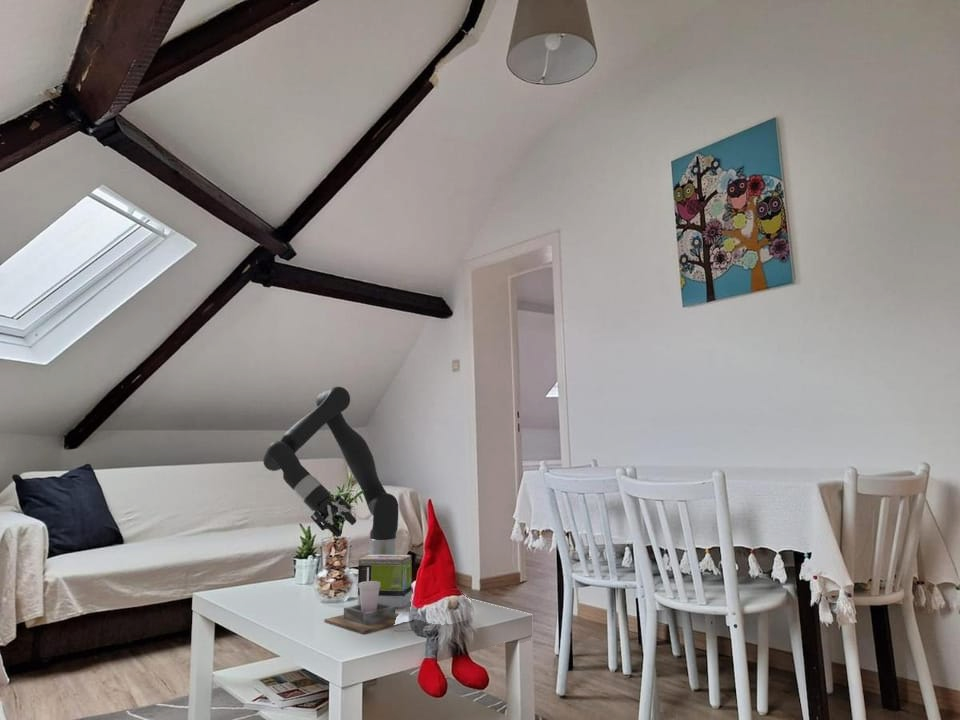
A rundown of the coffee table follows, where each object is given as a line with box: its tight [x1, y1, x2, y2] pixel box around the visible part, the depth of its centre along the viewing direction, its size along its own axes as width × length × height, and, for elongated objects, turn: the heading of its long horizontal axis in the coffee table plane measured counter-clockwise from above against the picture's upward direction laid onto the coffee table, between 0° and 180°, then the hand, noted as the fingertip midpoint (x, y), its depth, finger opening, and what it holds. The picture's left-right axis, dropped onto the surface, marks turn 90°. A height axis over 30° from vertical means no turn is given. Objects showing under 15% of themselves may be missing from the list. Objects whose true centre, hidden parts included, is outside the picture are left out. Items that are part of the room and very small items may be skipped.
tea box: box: [357, 554, 413, 609], centre depth 197 cm, size 15×10×15 cm, turn 79°
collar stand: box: [324, 602, 400, 635], centre depth 176 cm, size 18×18×4 cm
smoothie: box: [357, 567, 381, 612], centre depth 177 cm, size 6×6×14 cm
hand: (347, 528), depth 193 cm, fingers open, 8 cm apart
